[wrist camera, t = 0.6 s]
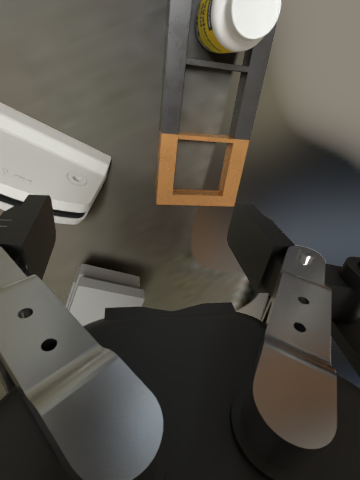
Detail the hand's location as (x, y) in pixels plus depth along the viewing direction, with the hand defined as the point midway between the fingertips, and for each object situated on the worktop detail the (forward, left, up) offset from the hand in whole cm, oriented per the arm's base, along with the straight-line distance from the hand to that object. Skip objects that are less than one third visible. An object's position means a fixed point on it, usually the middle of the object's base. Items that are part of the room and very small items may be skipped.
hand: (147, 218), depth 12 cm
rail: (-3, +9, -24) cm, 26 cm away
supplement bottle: (-11, +9, -24) cm, 28 cm away
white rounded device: (+4, -11, -25) cm, 27 cm away
